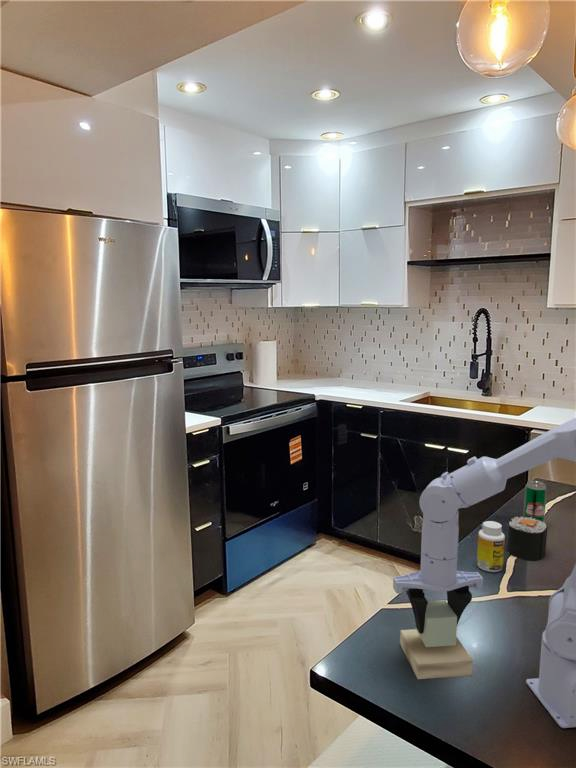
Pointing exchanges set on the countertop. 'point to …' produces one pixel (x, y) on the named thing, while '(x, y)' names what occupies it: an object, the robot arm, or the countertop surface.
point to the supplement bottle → (490, 547)
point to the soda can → (535, 500)
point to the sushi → (527, 538)
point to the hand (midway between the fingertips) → (435, 628)
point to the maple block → (435, 657)
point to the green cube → (439, 625)
